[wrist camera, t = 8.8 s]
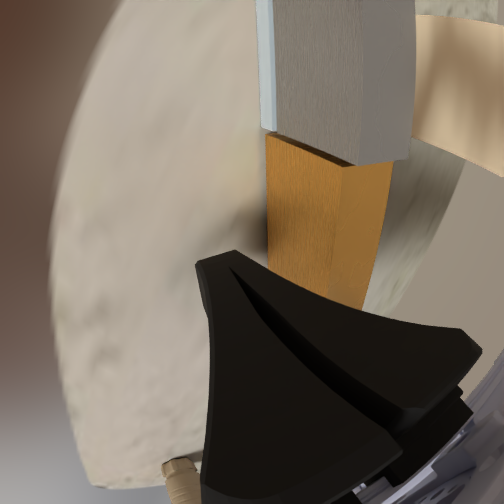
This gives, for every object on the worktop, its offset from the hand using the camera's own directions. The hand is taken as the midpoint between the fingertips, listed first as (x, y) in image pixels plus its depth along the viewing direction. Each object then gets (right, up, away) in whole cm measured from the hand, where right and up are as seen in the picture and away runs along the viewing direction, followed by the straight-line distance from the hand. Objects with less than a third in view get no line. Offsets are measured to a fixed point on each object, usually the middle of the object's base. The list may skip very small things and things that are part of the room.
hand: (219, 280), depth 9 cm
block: (+8, +9, +1) cm, 12 cm away
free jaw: (+2, +5, +1) cm, 5 cm away
